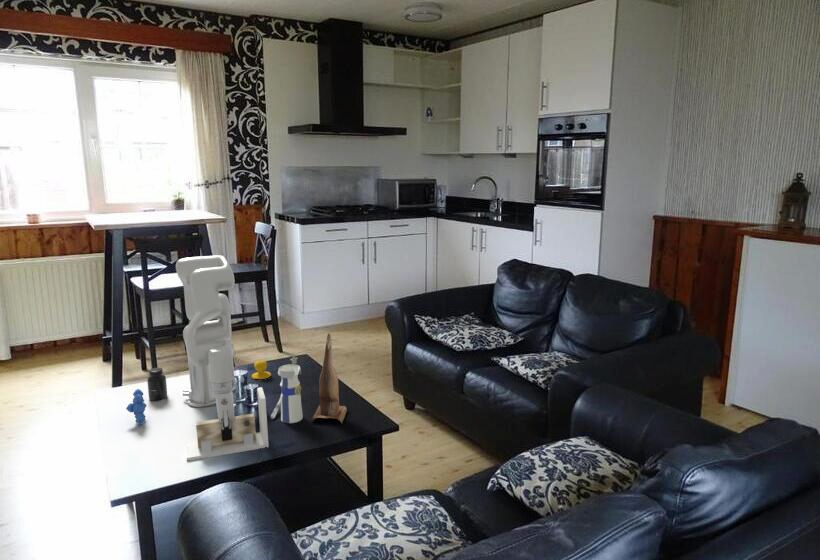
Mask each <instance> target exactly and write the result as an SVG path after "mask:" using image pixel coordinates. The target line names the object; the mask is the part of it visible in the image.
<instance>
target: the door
mask: <svg viewBox="0 0 820 560" xmlns="http://www.w3.org/2000/svg"><path fill="white" fill-rule="evenodd" d="M228 419H229V418H228ZM255 419H256V418H255V413H249V414H248V413H247V414H240V415H236V416H235V420H234V421H233V420H232V421H231V420H230V423H231V427H232V440H227V441H222V433H221V429H222V423H220V422H219V418H216V419H207V420H202V421H196V422H195V427H196V437H197V438H196V439H197V442H198V449H199V448H201V441H205V440H211V446H217V445H223V444H229V443H235V442H241V441H244V438H243V434H248V433H253V439H256V433H257V432H256V421H255ZM222 420H224V419H222ZM228 423H229V422H228ZM223 424H224V423H223Z"/></svg>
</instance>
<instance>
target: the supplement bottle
mask: <svg viewBox="0 0 820 560" xmlns="http://www.w3.org/2000/svg"><path fill="white" fill-rule="evenodd" d="M148 374H149V376H148V377H147V379H146V380H147V393H148V399H149V401H151V402H159V401H163V400H166V399H167V398H168V388H167V387H168V385H167V377H166V375H165V374H164V372H163V368H162V367H154V368H153V367H152V368H150V369H149V373H148Z"/></svg>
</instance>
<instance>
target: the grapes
mask: <svg viewBox="0 0 820 560" xmlns="http://www.w3.org/2000/svg"><path fill="white" fill-rule="evenodd" d="M132 395H133V399H132V403H131V402H130V403H128V405H127V406H126V408H125V409H126V410H127V412H129V413H133V415H134V418H135V420H134V421H135V422H136V423H137V424H138V425H143V424H144V423H145V421H146V414H145V413H144V412H145V411H146V408H147V404H146V403H145V399H144V397H143V396H144V392H143V391H142V390H141V389H139V388H137V389H135V390H134V392H133V393H132Z"/></svg>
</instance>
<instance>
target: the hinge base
mask: <svg viewBox="0 0 820 560" xmlns="http://www.w3.org/2000/svg"><path fill="white" fill-rule="evenodd" d="M256 390H257V391H256V392H257V393H256V394H257V403H258V404H257V406H258V418H259V419H258V420H259V432H256V439H253V433H248V434H243V438H244V441H241V442H235V443H229V444H223V445H217V446H211V440H205V441H201V448H199V449H198V441H197V442H192V443H191V442H190V443H187V444H186V461H187V460H190V461H194V460H193V459H196V460H200V459H199V458H202V459H207V458H206V457H208V458H213V456H214V457H218V456H225V455H230V454H238V453H241V452H242V453H243V452H249V451H254V450H258V449H259V450H260V448H261V449H266V448H265V447H267V448H270V447H269V445H270V444H269V433H268V418H267V402H266V396H265V393H264V389H263V387H262V386H261V387H257V388H256Z"/></svg>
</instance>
